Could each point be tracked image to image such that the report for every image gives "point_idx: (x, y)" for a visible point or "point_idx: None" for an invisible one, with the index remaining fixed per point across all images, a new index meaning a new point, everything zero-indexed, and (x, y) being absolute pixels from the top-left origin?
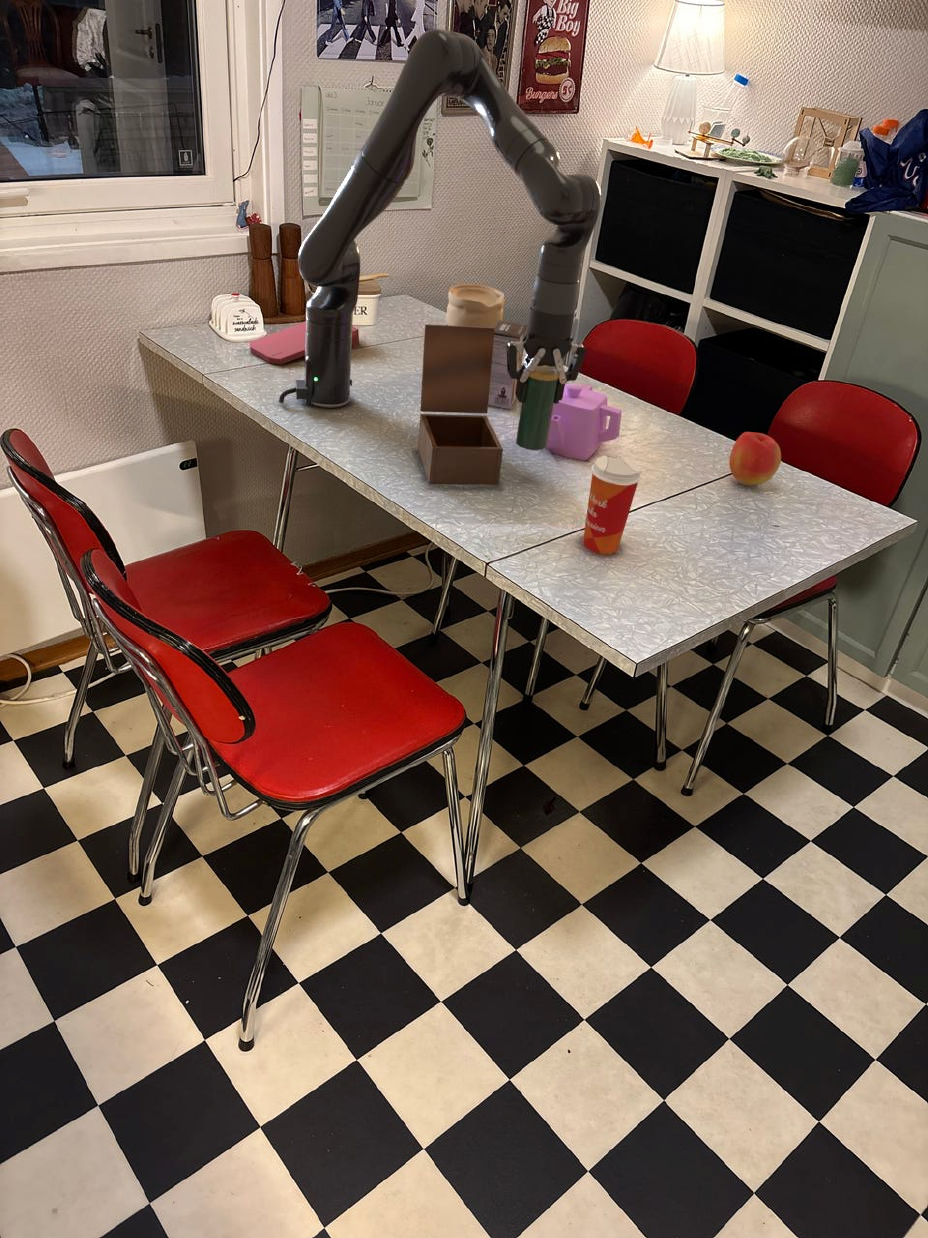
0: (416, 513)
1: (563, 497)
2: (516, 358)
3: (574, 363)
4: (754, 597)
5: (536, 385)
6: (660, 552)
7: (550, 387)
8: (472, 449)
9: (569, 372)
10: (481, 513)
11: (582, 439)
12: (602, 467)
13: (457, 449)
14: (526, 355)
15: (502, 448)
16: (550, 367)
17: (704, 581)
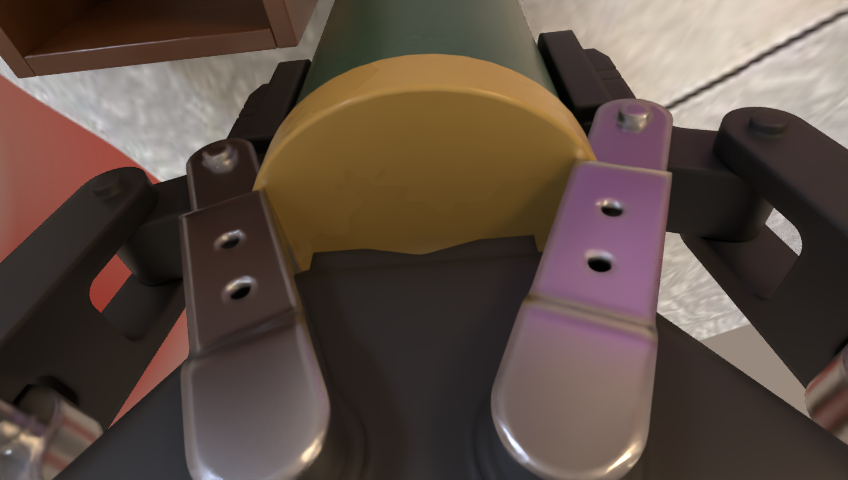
0: (134, 155)
1: (540, 18)
2: (113, 419)
3: (777, 334)
4: (742, 323)
5: None
6: (667, 238)
7: None
8: (173, 60)
9: (716, 209)
10: None
11: None
12: None
13: (115, 66)
14: (187, 276)
15: (294, 38)
16: (523, 207)
17: (688, 300)
